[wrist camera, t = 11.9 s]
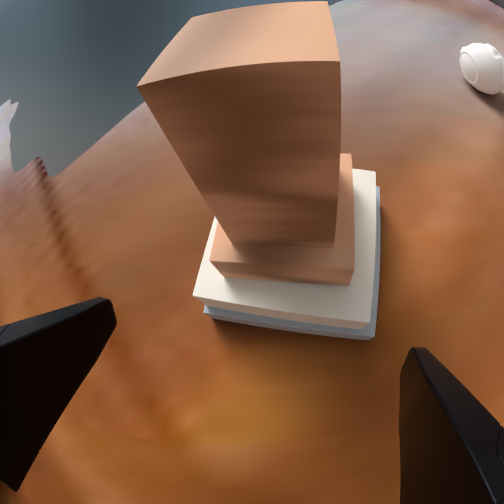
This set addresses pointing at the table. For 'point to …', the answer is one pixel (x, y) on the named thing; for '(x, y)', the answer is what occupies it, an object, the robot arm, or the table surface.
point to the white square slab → (304, 294)
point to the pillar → (262, 138)
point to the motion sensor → (483, 67)
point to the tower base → (309, 328)
